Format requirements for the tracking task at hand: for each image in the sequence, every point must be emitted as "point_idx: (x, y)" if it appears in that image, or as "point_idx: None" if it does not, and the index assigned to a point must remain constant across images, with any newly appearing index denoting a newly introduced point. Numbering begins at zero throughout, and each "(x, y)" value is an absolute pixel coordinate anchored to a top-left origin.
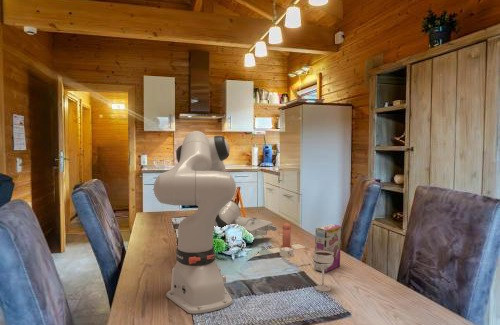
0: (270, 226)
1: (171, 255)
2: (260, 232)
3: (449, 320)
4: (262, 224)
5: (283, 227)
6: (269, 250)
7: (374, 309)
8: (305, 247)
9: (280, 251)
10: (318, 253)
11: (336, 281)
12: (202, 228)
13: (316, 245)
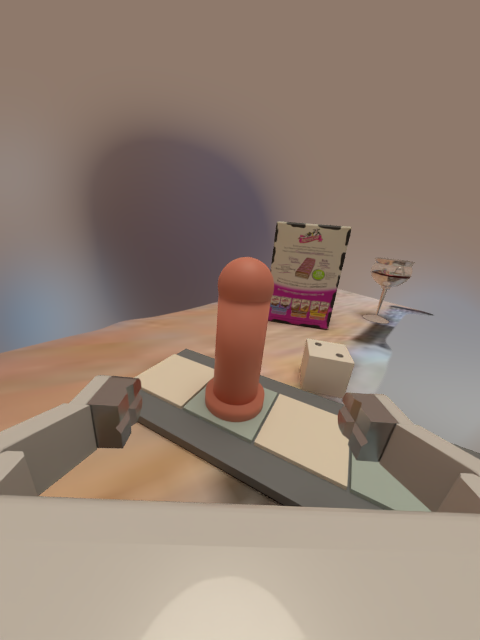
0: (25, 466)
1: None
2: (437, 457)
3: None
4: (84, 635)
5: (273, 287)
6: (342, 456)
7: (358, 298)
8: (176, 355)
9: (350, 371)
10: (390, 267)
11: (334, 312)
12: None
13: (340, 272)
